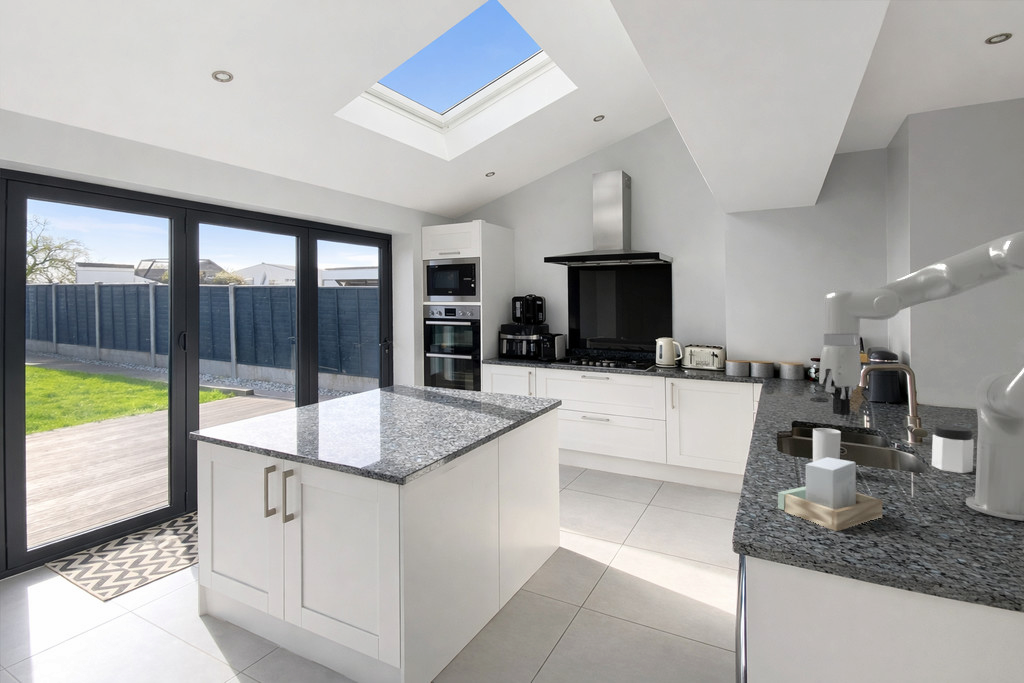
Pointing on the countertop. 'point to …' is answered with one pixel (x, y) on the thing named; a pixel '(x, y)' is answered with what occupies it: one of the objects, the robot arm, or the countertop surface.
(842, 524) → the wooden tray
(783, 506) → the gate
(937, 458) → the jar
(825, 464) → the skincare box
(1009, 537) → the countertop surface
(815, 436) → the mug
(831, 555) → the countertop surface
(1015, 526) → the countertop surface
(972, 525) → the countertop surface
